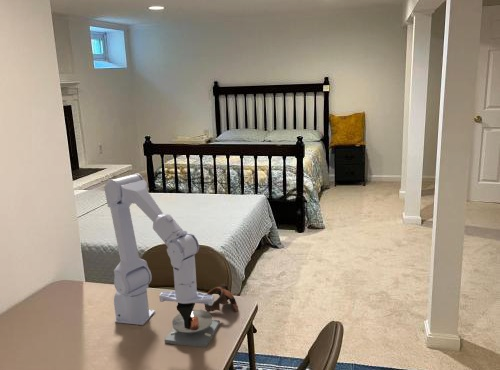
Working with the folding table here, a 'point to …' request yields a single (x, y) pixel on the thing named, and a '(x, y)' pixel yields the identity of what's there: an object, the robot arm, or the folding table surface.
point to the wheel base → (193, 336)
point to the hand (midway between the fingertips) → (188, 326)
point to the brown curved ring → (221, 298)
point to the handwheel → (193, 322)
